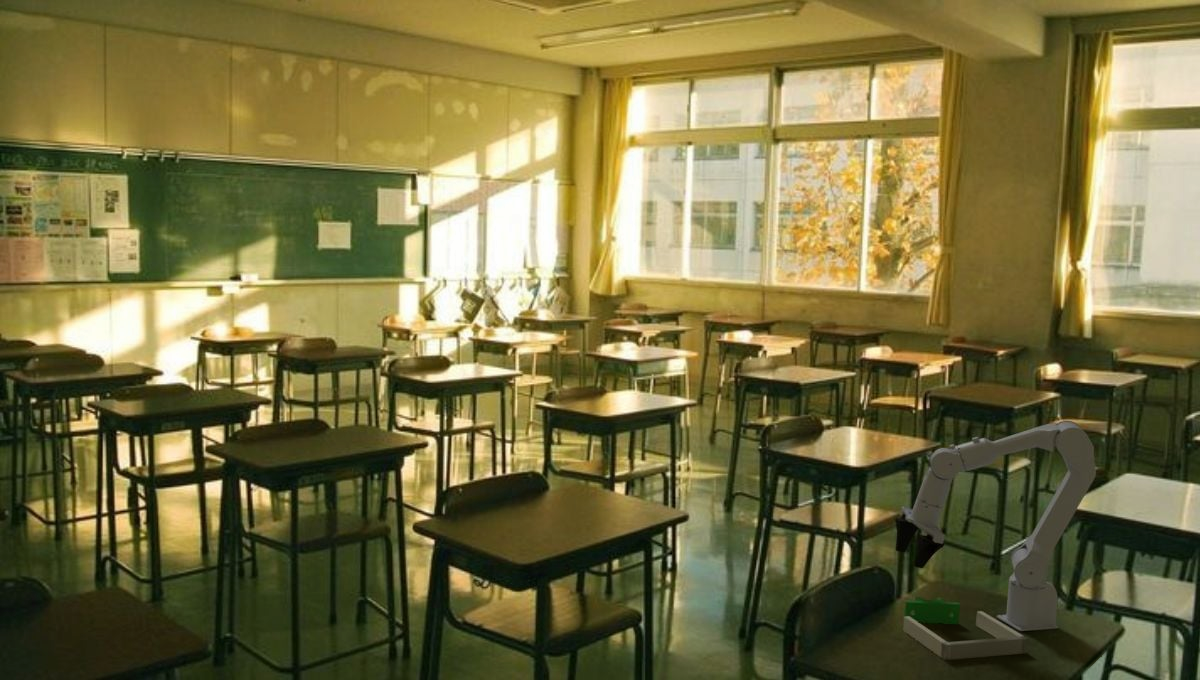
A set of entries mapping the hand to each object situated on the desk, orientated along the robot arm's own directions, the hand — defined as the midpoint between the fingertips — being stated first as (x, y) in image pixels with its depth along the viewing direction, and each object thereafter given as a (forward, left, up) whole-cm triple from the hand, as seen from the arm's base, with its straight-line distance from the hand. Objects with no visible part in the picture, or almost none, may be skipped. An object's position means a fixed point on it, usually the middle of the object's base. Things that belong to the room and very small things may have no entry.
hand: (909, 559), depth 222 cm
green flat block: (-1, +7, -11) cm, 14 cm away
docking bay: (-1, +19, -11) cm, 22 cm away
